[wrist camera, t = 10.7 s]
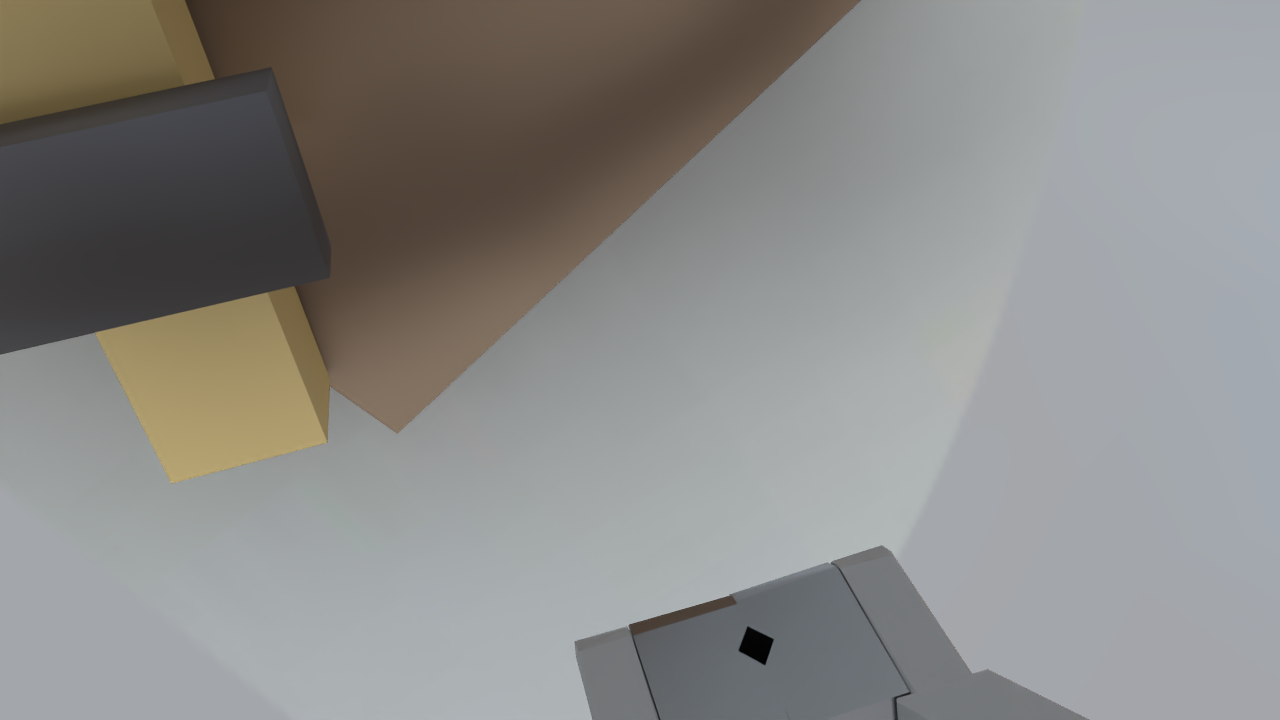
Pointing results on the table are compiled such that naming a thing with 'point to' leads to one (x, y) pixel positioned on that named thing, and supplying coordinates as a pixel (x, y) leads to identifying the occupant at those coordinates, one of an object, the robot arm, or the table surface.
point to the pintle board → (377, 169)
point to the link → (192, 340)
